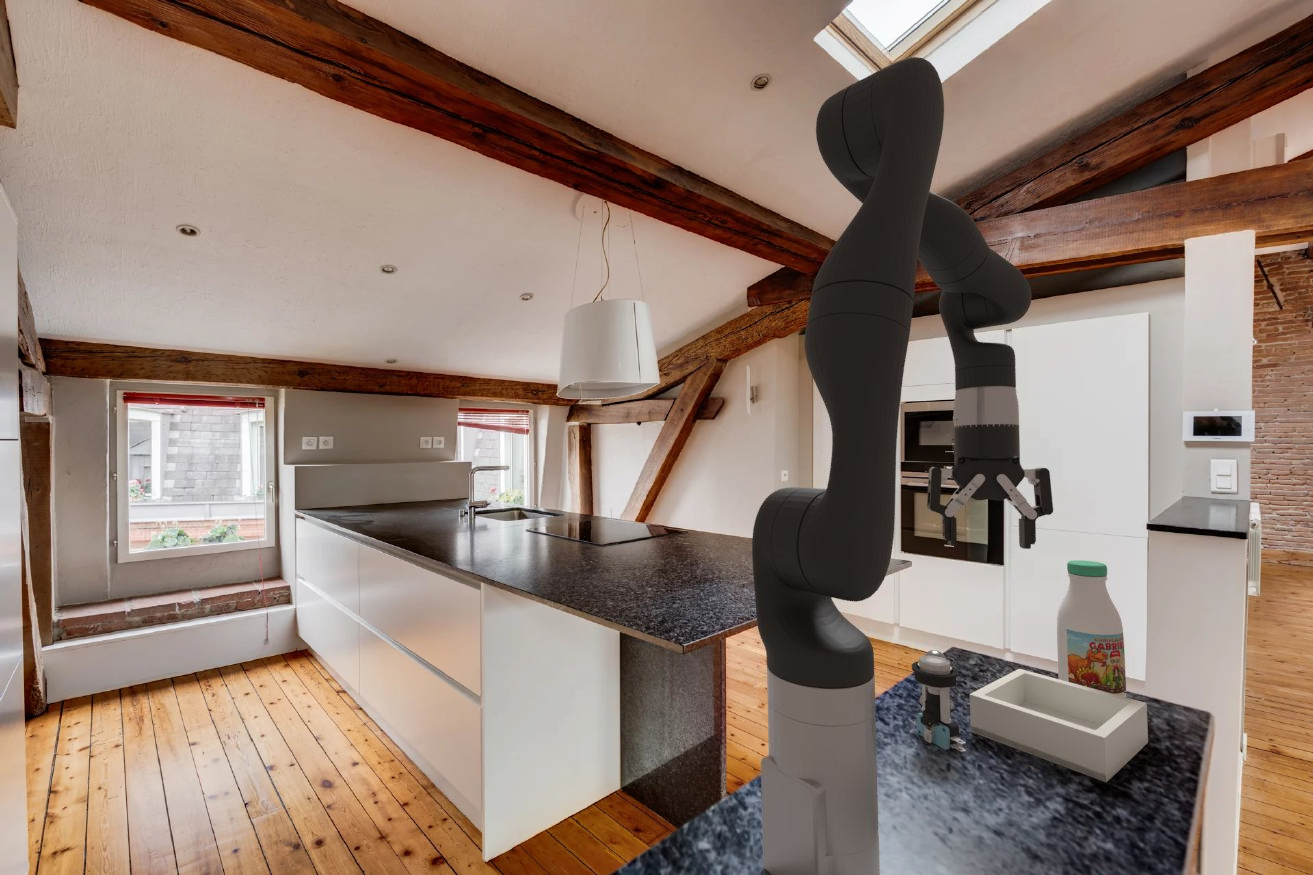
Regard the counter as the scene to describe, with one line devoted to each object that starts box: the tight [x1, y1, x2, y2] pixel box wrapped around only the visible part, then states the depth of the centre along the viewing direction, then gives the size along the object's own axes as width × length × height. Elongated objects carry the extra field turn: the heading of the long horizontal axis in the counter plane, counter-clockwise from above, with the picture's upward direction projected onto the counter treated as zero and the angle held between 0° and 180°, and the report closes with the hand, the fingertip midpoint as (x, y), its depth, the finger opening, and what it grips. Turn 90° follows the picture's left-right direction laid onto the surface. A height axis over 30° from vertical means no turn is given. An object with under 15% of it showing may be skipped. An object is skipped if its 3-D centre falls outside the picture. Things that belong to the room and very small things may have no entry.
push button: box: [911, 655, 967, 753], centre depth 72 cm, size 7×5×10 cm
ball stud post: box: [919, 649, 955, 712], centre depth 82 cm, size 4×4×8 cm
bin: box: [969, 668, 1149, 784], centre depth 72 cm, size 14×14×5 cm
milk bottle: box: [1056, 559, 1127, 698], centre depth 82 cm, size 8×8×20 cm
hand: (988, 546), depth 75 cm, fingers open, 8 cm apart
